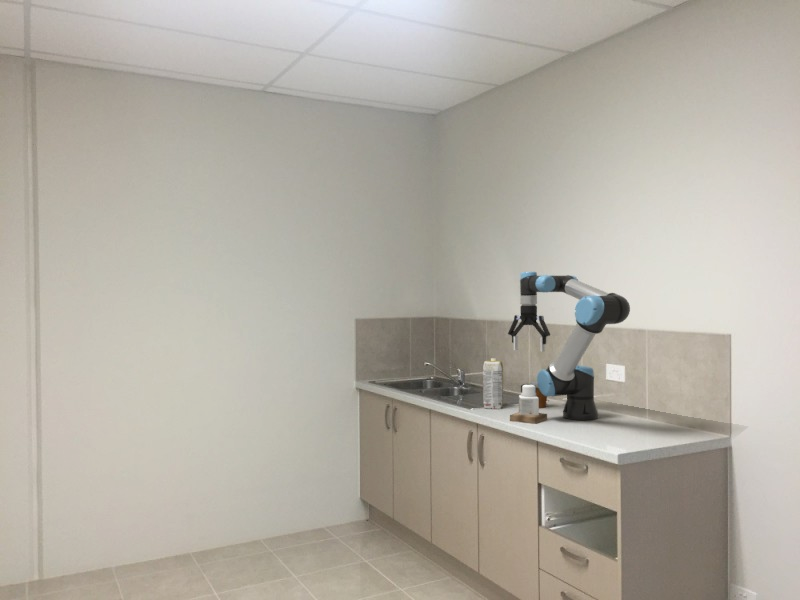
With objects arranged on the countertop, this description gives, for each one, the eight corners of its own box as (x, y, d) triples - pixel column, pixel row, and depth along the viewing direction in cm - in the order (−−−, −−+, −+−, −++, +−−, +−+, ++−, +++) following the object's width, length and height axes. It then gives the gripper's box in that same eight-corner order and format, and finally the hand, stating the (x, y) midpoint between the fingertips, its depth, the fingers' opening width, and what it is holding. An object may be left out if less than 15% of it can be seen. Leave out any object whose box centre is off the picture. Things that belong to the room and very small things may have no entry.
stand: (547, 419, 307) (547, 413, 307) (535, 423, 298) (535, 417, 298) (522, 416, 315) (522, 410, 315) (509, 420, 305) (509, 414, 305)
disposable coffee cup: (525, 405, 344) (525, 381, 343) (543, 405, 346) (543, 380, 346) (534, 409, 334) (534, 384, 334) (552, 408, 337) (552, 383, 336)
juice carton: (503, 407, 341) (503, 357, 340) (501, 409, 333) (501, 359, 333) (484, 406, 343) (484, 357, 343) (482, 409, 336) (482, 359, 335)
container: (518, 412, 310) (518, 383, 310) (536, 412, 310) (536, 383, 310) (520, 415, 302) (520, 385, 302) (538, 415, 302) (538, 385, 302)
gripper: (557, 305, 320) (557, 351, 320) (508, 304, 334) (508, 349, 335) (550, 305, 313) (550, 352, 314) (500, 305, 328) (501, 350, 329)
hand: (528, 350), depth 324 cm, fingers open, 13 cm apart
